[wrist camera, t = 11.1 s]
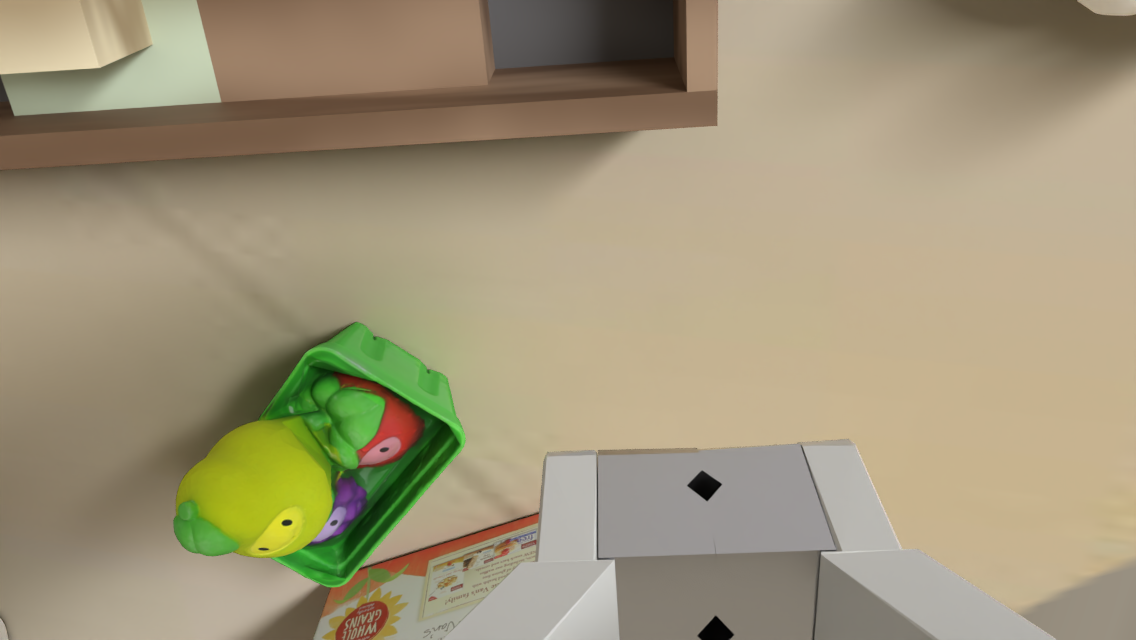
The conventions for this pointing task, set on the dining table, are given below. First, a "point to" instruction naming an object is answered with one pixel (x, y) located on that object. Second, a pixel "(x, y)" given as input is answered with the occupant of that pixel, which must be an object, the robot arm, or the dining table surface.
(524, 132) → the trap lane
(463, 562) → the cracker box
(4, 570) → the dining table surface
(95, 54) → the maple block
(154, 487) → the dining table surface
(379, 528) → the fruit basket
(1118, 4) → the white rounded piece
